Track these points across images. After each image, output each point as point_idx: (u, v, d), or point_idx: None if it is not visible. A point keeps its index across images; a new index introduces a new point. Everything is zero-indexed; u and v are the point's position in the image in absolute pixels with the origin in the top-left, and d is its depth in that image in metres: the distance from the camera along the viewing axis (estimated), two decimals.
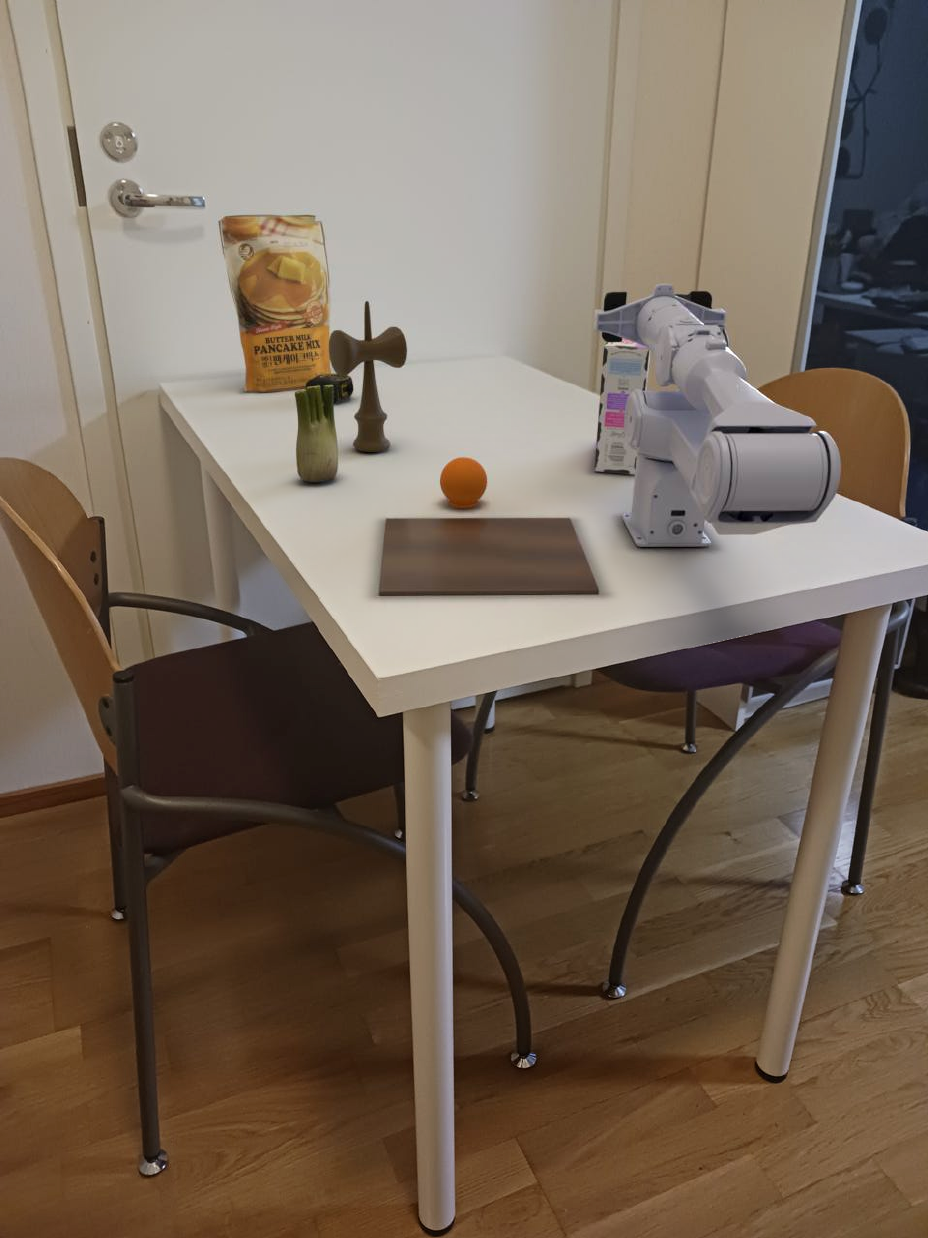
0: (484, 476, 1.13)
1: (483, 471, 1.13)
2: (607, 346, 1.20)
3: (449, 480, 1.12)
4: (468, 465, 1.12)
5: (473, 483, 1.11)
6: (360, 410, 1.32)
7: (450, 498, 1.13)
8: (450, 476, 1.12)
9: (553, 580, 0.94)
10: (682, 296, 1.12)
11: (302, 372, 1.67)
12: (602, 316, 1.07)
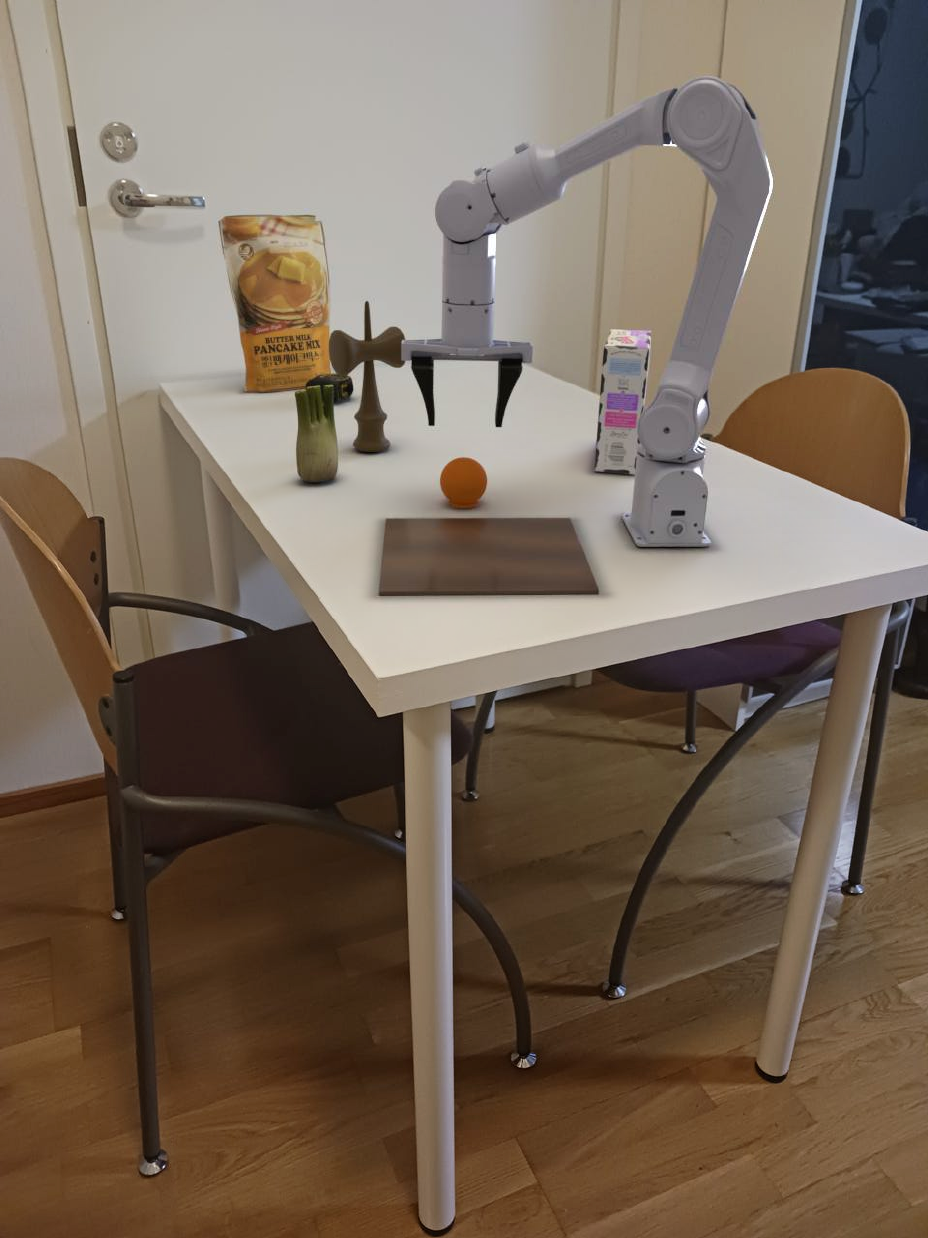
0: (484, 476, 1.13)
1: (483, 471, 1.13)
2: (607, 346, 1.20)
3: (449, 480, 1.12)
4: (468, 465, 1.12)
5: (473, 483, 1.11)
6: (360, 410, 1.32)
7: (450, 498, 1.13)
8: (450, 476, 1.12)
9: (553, 580, 0.94)
10: (433, 399, 1.08)
11: (302, 372, 1.67)
12: None
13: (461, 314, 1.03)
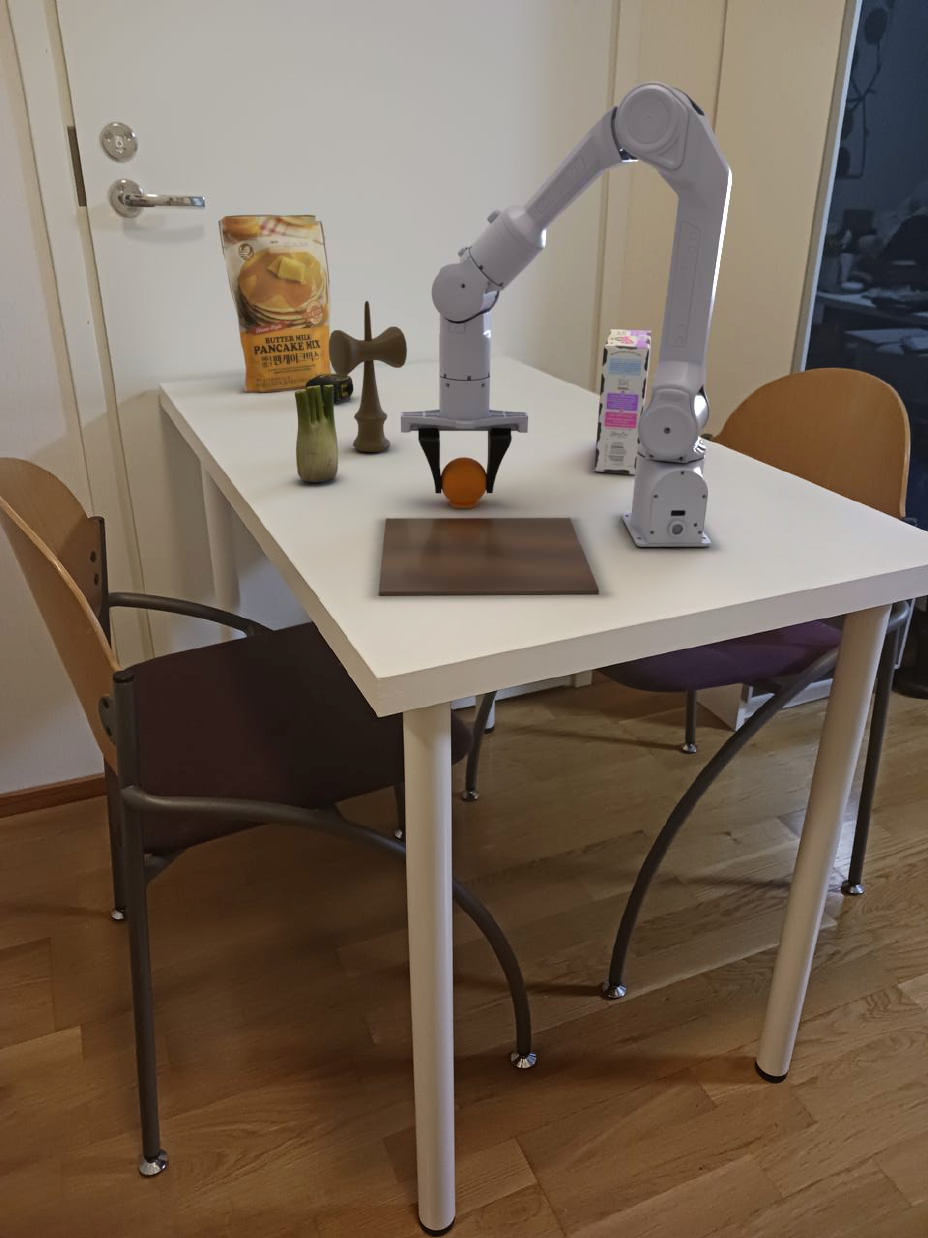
0: (484, 476, 1.13)
1: (483, 471, 1.13)
2: (607, 346, 1.20)
3: (450, 480, 1.12)
4: (468, 465, 1.12)
5: (473, 483, 1.11)
6: (360, 410, 1.32)
7: (450, 498, 1.13)
8: (450, 476, 1.12)
9: (553, 580, 0.94)
10: (439, 468, 1.12)
11: (302, 372, 1.67)
12: None
13: (458, 389, 1.06)
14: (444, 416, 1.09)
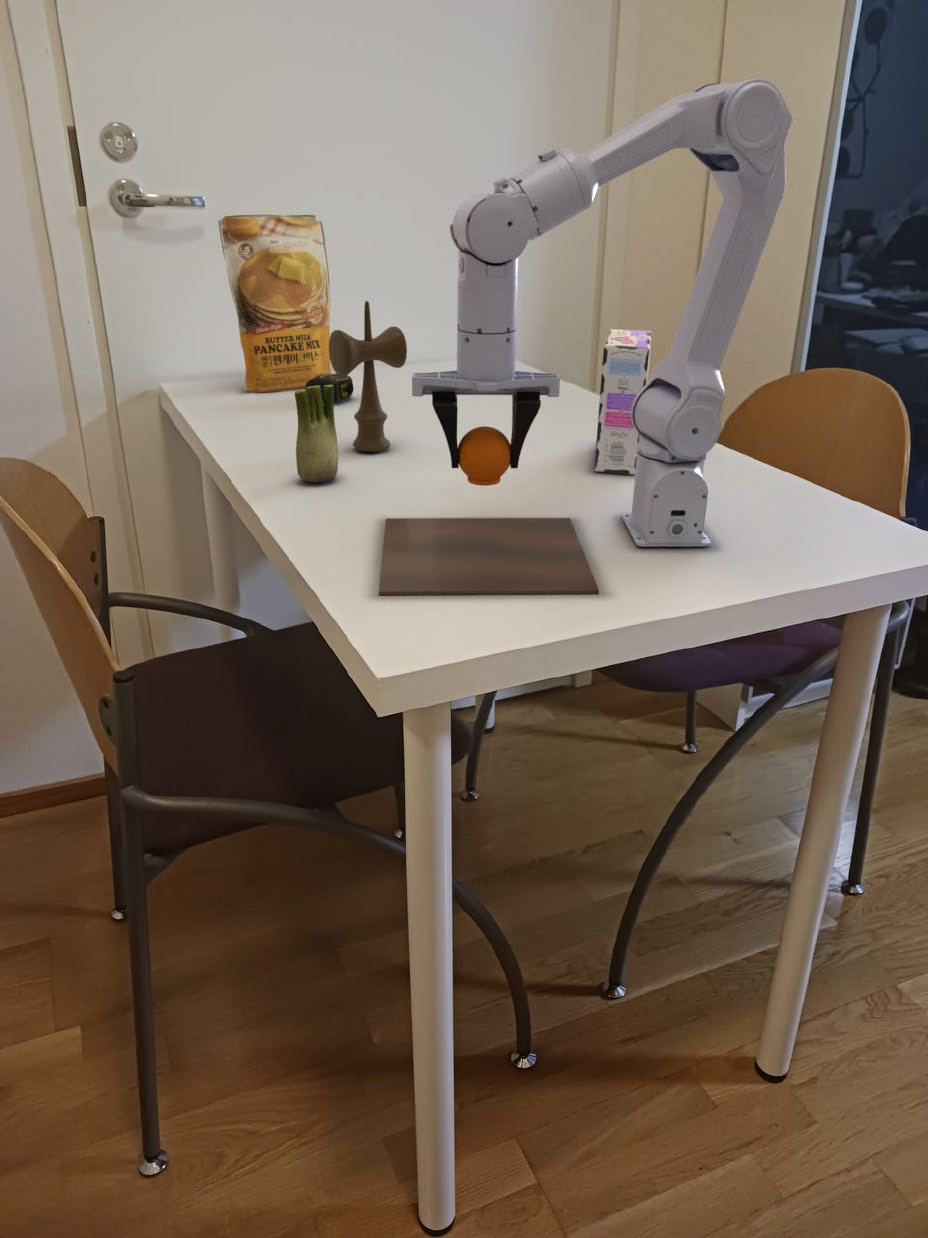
0: (508, 448, 0.97)
1: (507, 442, 0.97)
2: (607, 346, 1.20)
3: (468, 453, 0.96)
4: (490, 434, 0.96)
5: (496, 455, 0.96)
6: (360, 410, 1.32)
7: (469, 473, 0.98)
8: (469, 448, 0.96)
9: (553, 580, 0.94)
10: None
11: (302, 372, 1.67)
12: None
13: (480, 344, 0.91)
14: (462, 377, 0.93)
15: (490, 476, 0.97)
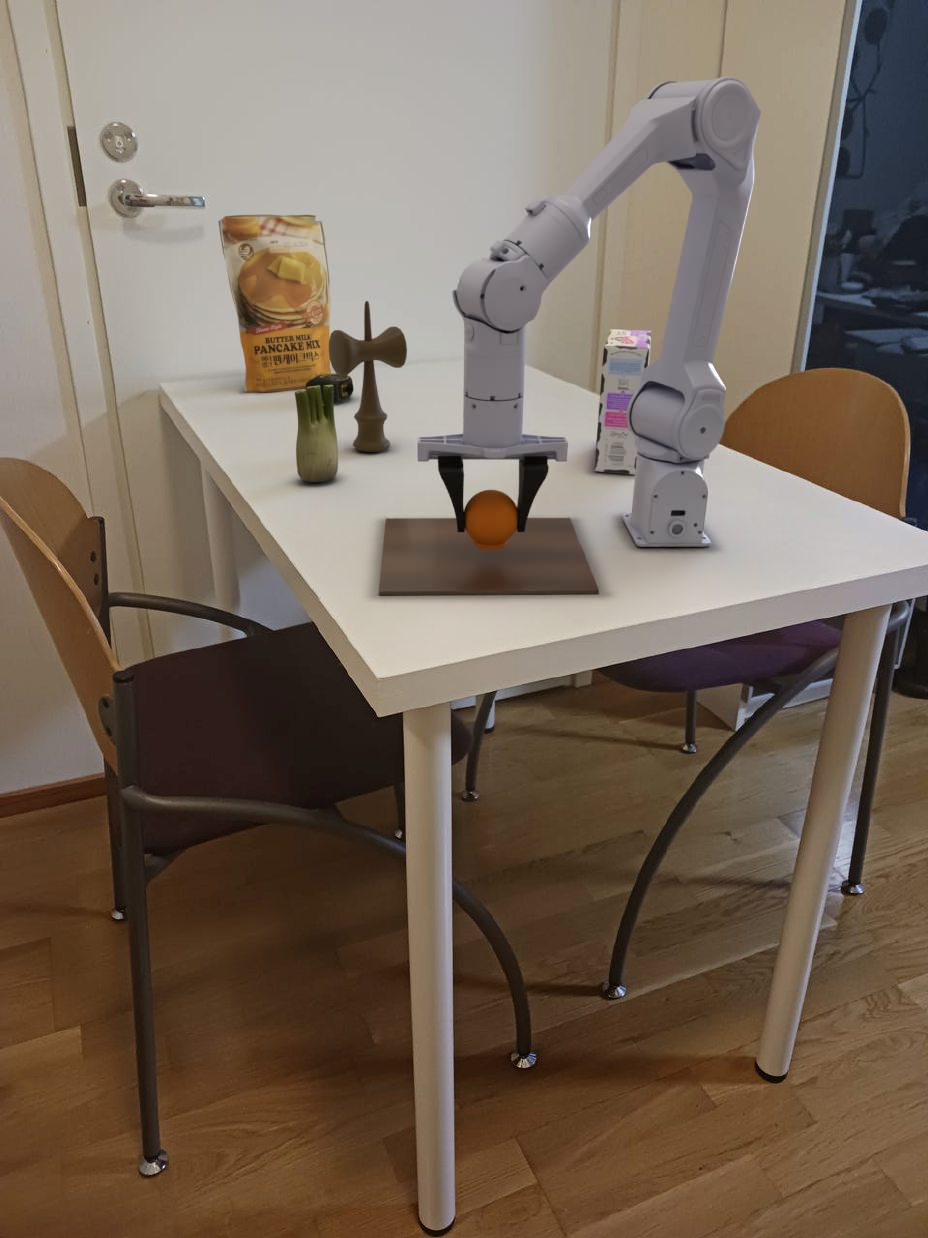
0: (515, 513, 0.96)
1: (514, 506, 0.96)
2: (607, 346, 1.20)
3: (475, 518, 0.95)
4: (496, 499, 0.95)
5: (503, 521, 0.94)
6: (360, 410, 1.32)
7: (475, 538, 0.96)
8: (476, 513, 0.95)
9: (553, 580, 0.94)
10: None
11: (302, 372, 1.67)
12: None
13: (487, 411, 0.89)
14: (469, 442, 0.92)
15: (497, 541, 0.96)
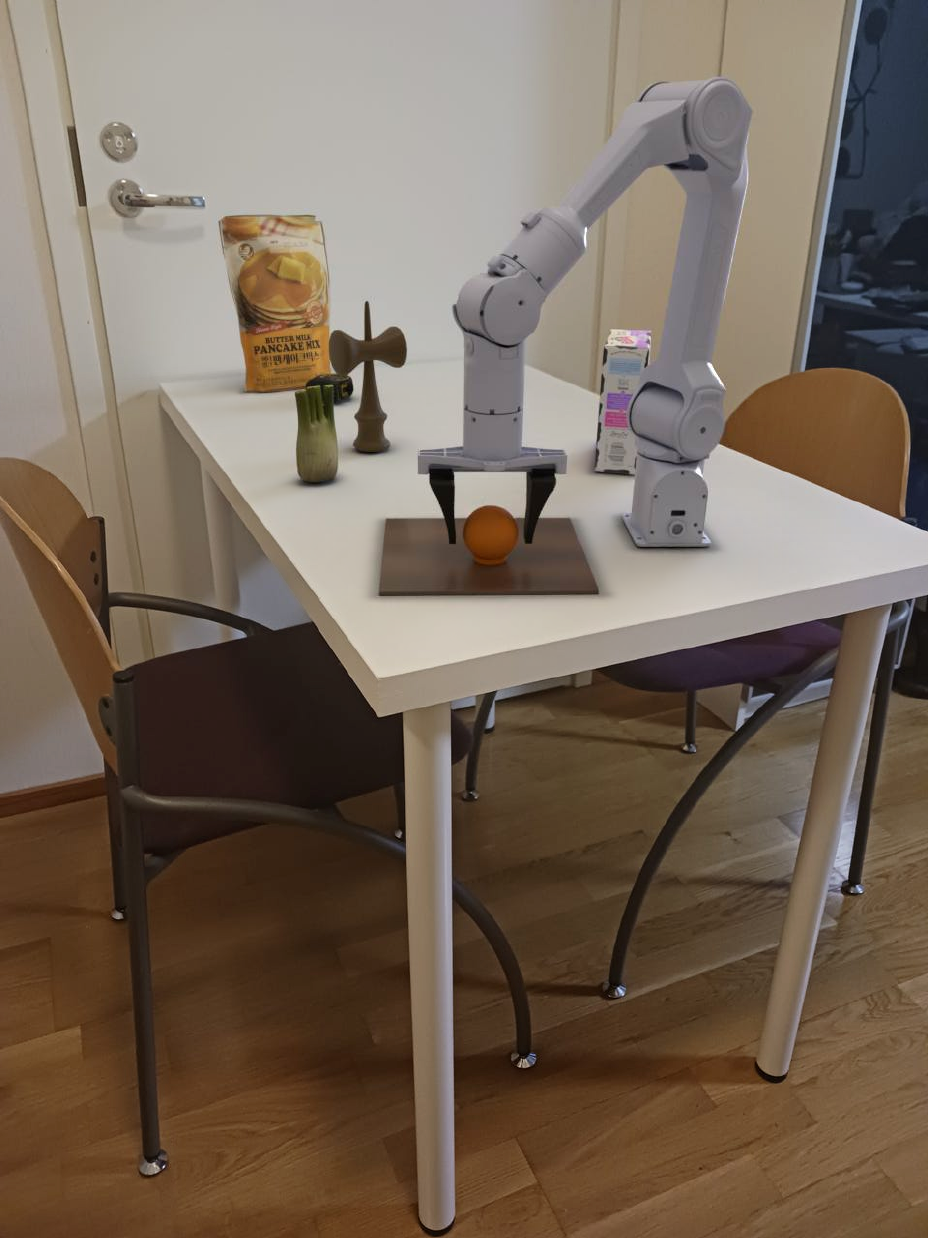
0: (515, 528, 0.96)
1: (514, 522, 0.97)
2: (607, 346, 1.20)
3: (474, 533, 0.95)
4: (496, 515, 0.95)
5: (502, 536, 0.95)
6: (360, 410, 1.32)
7: (475, 553, 0.97)
8: (475, 529, 0.95)
9: (553, 580, 0.94)
10: (454, 516, 0.95)
11: (302, 372, 1.67)
12: None
13: (487, 424, 0.90)
14: (469, 455, 0.92)
15: (496, 556, 0.97)
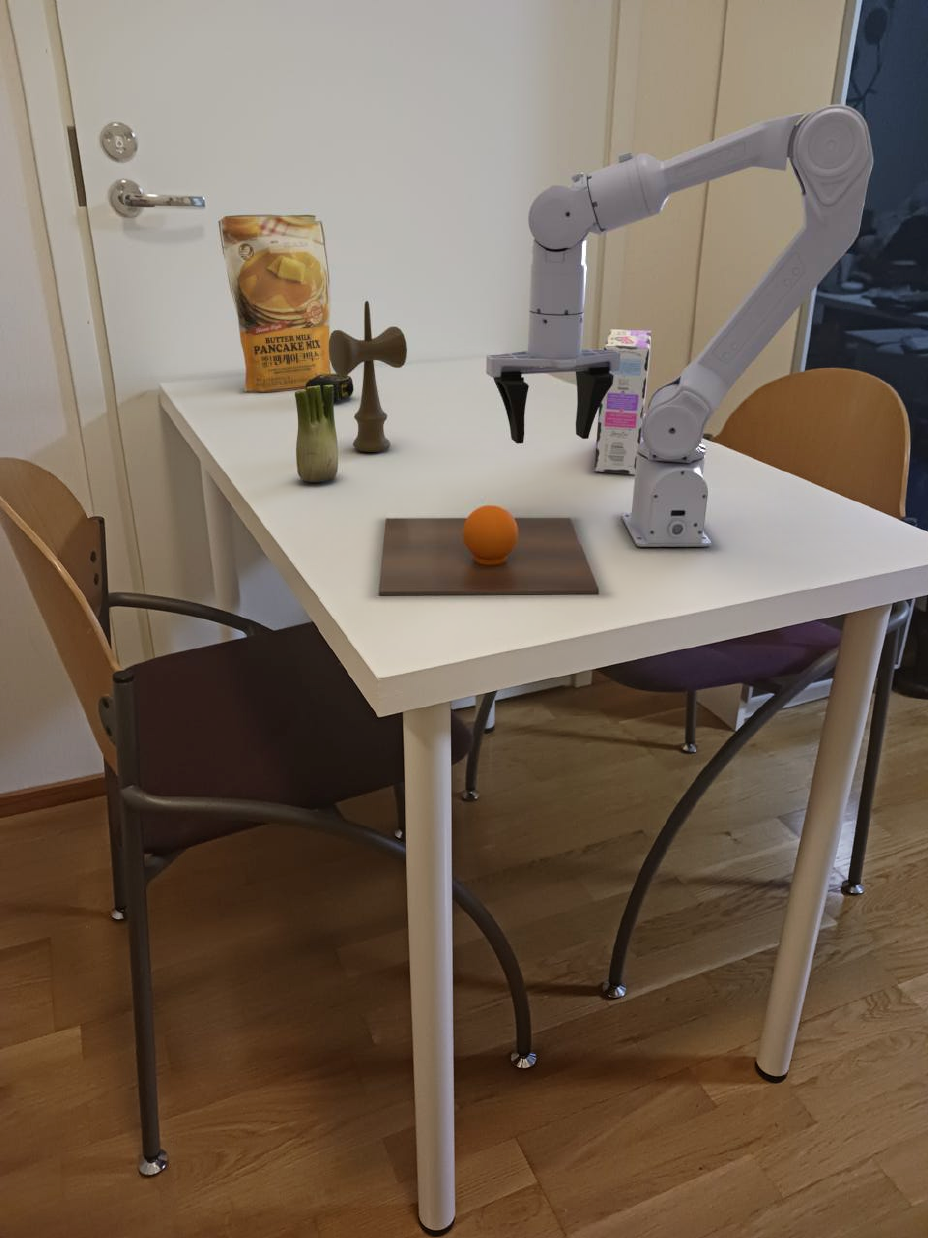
0: (515, 528, 0.96)
1: (514, 522, 0.97)
2: (607, 346, 1.20)
3: (474, 533, 0.95)
4: (496, 515, 0.95)
5: (502, 536, 0.95)
6: (360, 410, 1.32)
7: (475, 553, 0.97)
8: (475, 529, 0.95)
9: (553, 580, 0.94)
10: (523, 415, 1.03)
11: (302, 372, 1.67)
12: None
13: (558, 325, 0.99)
14: (539, 356, 1.01)
15: (496, 556, 0.97)
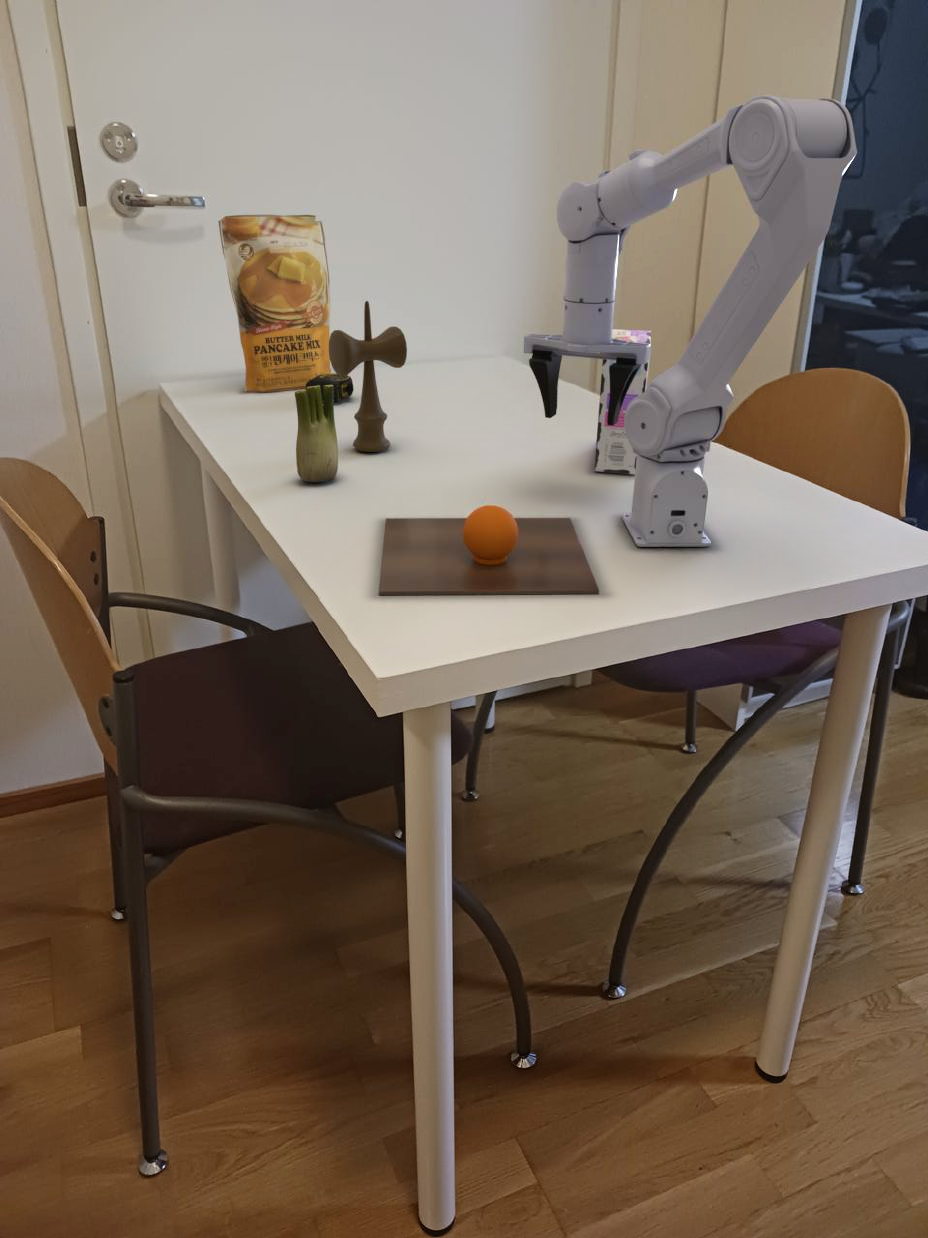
0: (515, 528, 0.96)
1: (514, 522, 0.97)
2: None
3: (474, 533, 0.95)
4: (496, 515, 0.95)
5: (502, 536, 0.95)
6: (360, 410, 1.32)
7: (475, 553, 0.97)
8: (475, 529, 0.95)
9: (553, 580, 0.94)
10: (549, 392, 1.13)
11: (302, 372, 1.67)
12: None
13: (574, 311, 1.07)
14: (562, 339, 1.10)
15: (496, 556, 0.97)
